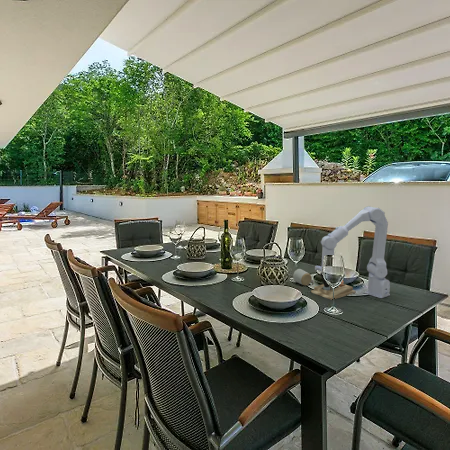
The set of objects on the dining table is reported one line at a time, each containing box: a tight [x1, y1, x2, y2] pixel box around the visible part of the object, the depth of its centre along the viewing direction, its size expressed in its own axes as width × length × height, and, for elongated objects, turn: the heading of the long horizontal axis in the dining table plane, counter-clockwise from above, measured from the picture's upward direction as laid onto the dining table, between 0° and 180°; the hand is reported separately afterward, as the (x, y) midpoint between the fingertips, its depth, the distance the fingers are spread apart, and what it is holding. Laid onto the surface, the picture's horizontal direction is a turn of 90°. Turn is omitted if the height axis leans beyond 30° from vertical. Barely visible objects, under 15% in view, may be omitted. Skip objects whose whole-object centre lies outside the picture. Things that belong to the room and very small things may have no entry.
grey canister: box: [292, 268, 315, 286], centre depth 182 cm, size 11×8×8 cm
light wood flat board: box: [311, 283, 356, 301], centre depth 168 cm, size 13×18×3 cm
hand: (326, 286), depth 165 cm, fingers closed, pressing on slate button
